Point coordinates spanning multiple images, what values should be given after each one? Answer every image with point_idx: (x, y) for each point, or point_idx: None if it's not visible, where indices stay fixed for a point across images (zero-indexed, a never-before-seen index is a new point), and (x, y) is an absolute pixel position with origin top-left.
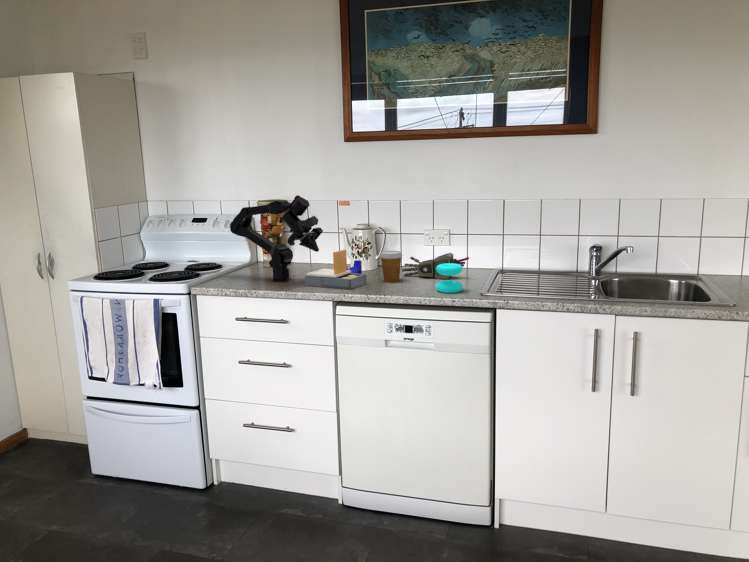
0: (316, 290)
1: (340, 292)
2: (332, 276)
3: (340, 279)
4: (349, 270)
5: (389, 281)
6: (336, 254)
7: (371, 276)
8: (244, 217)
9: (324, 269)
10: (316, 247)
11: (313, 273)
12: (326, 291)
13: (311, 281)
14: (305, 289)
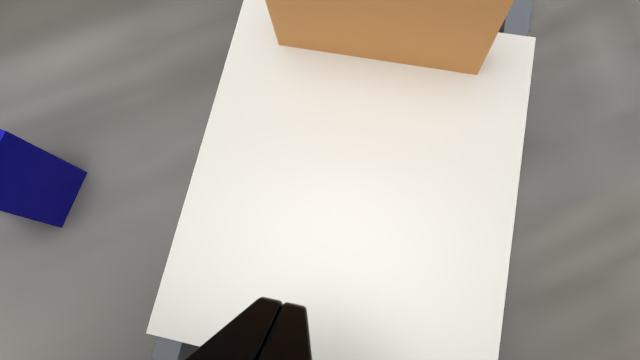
0: (622, 219)
1: (625, 11)
2: (528, 74)
3: (529, 8)
4: (243, 12)
5: None
6: None
7: (26, 3)
8: None
9: (207, 290)
10: (284, 355)
11: (471, 324)
12: (630, 123)
13: None
14: (617, 339)
